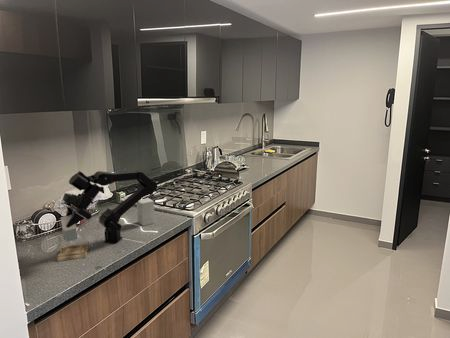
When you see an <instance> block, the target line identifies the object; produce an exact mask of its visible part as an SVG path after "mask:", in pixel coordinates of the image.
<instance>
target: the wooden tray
mask: <svg viewBox="0 0 450 338" xmlns="http://www.w3.org/2000/svg"><path fill="white" fill-rule="evenodd" d="M60 248H61V249H60V252H59V253H58V255H57V261H58V262H59V261H68V260H75V259H81V258H83V259H84V258H86V257H87V253H88V249H89V243H82V244H72V245H66V246H61V247H60Z"/></svg>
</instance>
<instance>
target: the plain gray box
mask: <svg viewBox="0 0 450 338" xmlns="http://www.w3.org/2000/svg"><path fill="white" fill-rule="evenodd" d="M71 217H72V215H69V216H66V215H65V216H61V217H60V222H61V231H62V236H63V237H62V238H63V240H64V241H65V242H67V243H68V242H71V241H76V240H78V231H77V226H76V225H77V224H74V225H72V226H71V227H69V228H68V227H66V226H67V224H68V222H69V220H70V219H71Z"/></svg>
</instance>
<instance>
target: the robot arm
mask: <svg viewBox="0 0 450 338" xmlns="http://www.w3.org/2000/svg"><path fill="white" fill-rule="evenodd" d="M133 180H134V181H135V180H137V181H136V182H138V183H139V185H138V187H137V189H136V190H135V191H134V192H132V193H131V194H130V195H129V196H128V197H126V198H125V199H124V200H123V201H122V202H121V203H119V204H118V205H117V206H115V208H113V209H111V208H109V207H108V208H106V209H105V210H104V212H102V213H100V214H101V215H100V216H99V219H98V221H99V222H98V223H99V224H100V225H101V226H103V227H104V228H105V229H104V241H103V242H104V243H106V244H117V243H118V242H120V241H121V240H123V238H124V237H123V236H121V230H122V224H120V223H119V222H120V220H121V217H122V216H123V215H124V214H125V213H127V211H129V210H130V209H131V208H132V207H134V205H137V202H138V201H139V200H142V199H144V197H147V196H151V194H153V193H156V191H157V189H158V183H157V182H156V181H155V180H152V179H151V178H149V177H148V176H147V175H146V174H145V173H144V172H143V171H140V170H134V171H132V170H131V171H122V172H110V171H100V170H99V171H96V172H95V173H93V174H91V175H89V176H87V175H85V174H84V173H83V172H82V171H79V170H78V172H77V173H74V175H72V176H71V177H70V178H69V180H68V184H69V185H71V186H73V187H74V188H76V190H79V191H82V190H83V191H82V193H78V194H72V193H67V192H64V194H63V197H62V201H63V202H64V205H65V208H66V214H65V216H69V215H72V217H71V219H70V220H69V222H68V224H67V226H66V227H68V228H69V227H71V226H72V225H74V224H76V223H78V222H79V221H81V220H83V219H85V218H86V220H88V221H90V219H91V218H92V212H90V211H88V208H89V206H90V205H93V204H94V200H95V198H96V197H97V196H98V194H99V193H101V194H105V189H104V186H108V185H112V184H113V183H117V182H125V181H133ZM99 185H100V186H99ZM84 217H85V218H84ZM76 225H77V224H76Z"/></svg>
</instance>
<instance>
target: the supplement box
mask: <svg viewBox="0 0 450 338" xmlns="http://www.w3.org/2000/svg"><path fill="white" fill-rule="evenodd" d="M136 210H137V222H138V223H139V225H141V226H142V227H144V226H149V225H152V224H156V216H155V201H154V200H152V199H151V198H149V197H147V198H141V199H140V200H139V201H138V202H137V203H136Z"/></svg>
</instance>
